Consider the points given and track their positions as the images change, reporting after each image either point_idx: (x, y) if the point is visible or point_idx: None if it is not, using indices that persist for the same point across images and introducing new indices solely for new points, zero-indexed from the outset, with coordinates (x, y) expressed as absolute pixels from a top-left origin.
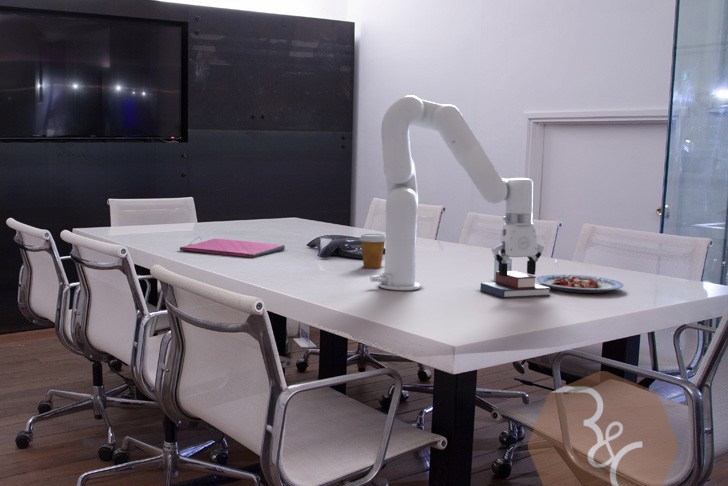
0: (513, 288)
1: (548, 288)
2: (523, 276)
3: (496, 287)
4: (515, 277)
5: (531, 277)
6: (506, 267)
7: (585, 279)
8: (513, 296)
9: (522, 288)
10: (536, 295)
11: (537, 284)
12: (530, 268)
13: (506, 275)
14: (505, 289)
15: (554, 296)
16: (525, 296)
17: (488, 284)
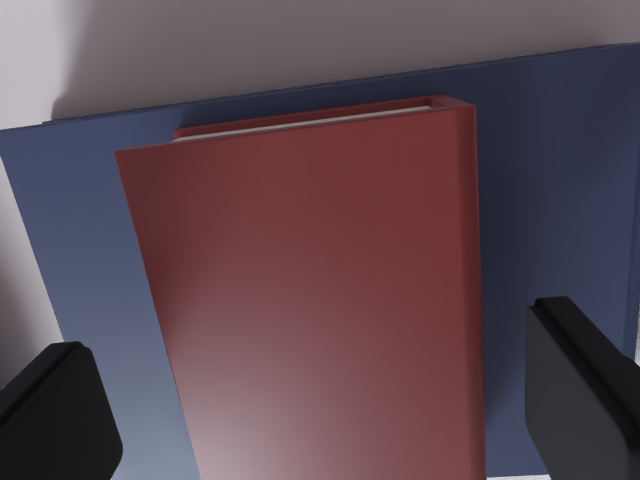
0: None
1: (19, 127)
2: (315, 186)
3: (632, 219)
4: (474, 157)
5: (198, 139)
6: (615, 378)
7: None
8: (477, 63)
9: (357, 105)
10: (194, 102)
11: (69, 329)
12: (62, 447)
13: (544, 300)
14: (610, 75)
15: (11, 97)
16: (326, 83)
17: None
